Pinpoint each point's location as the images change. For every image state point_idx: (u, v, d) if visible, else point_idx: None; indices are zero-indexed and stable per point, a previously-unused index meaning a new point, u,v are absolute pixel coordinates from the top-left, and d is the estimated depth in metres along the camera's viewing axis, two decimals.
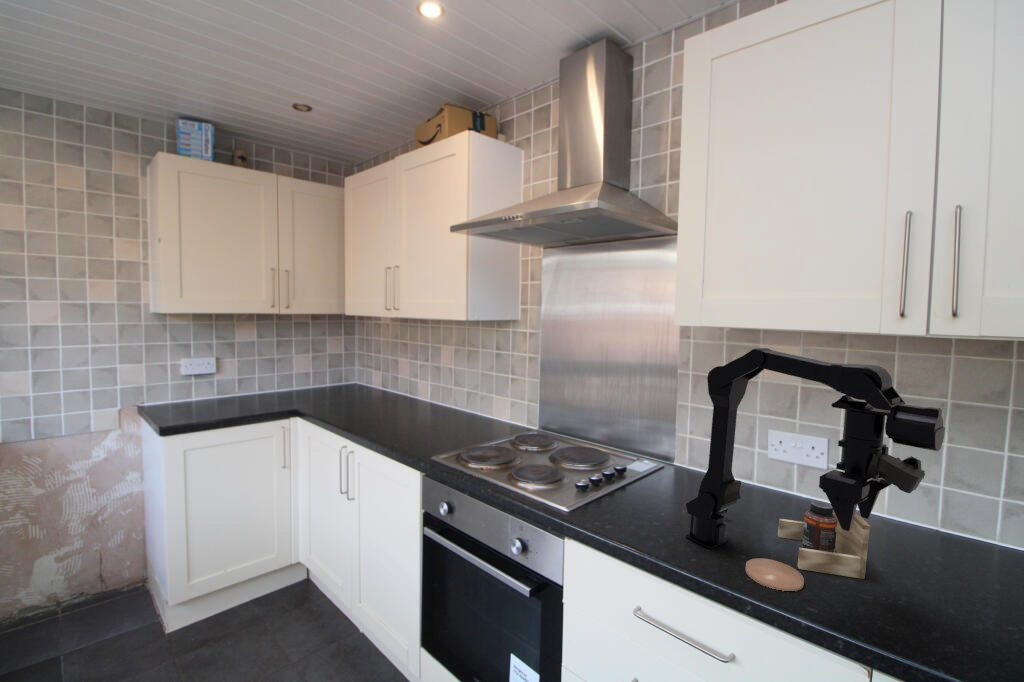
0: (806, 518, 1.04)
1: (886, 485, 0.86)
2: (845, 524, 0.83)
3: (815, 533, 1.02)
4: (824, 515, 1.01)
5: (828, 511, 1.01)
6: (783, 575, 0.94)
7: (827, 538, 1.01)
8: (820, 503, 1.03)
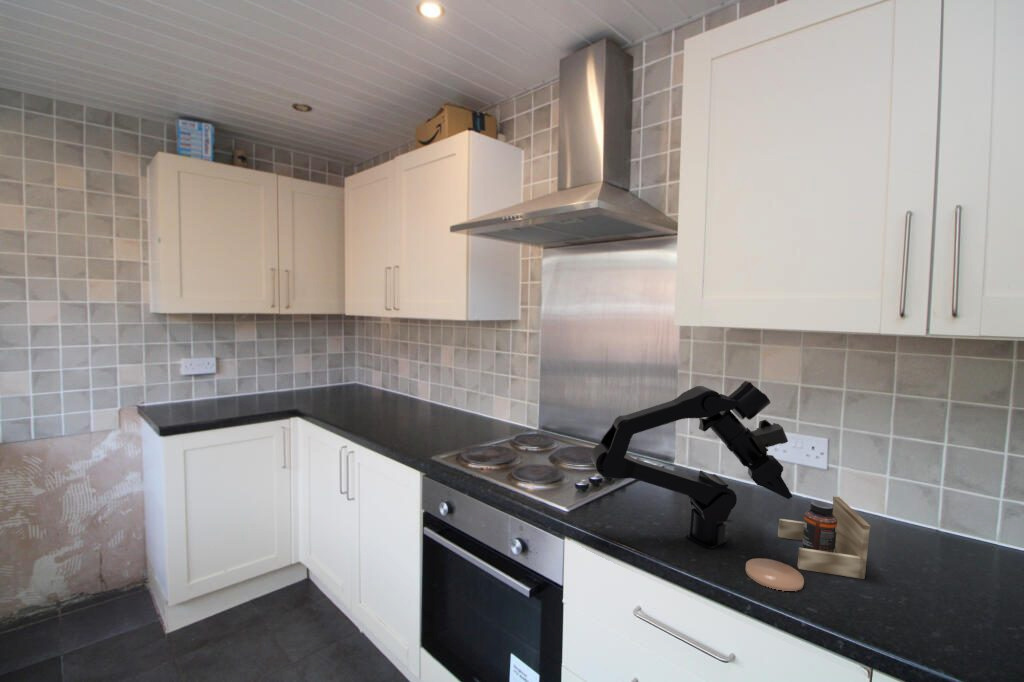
0: (806, 518, 1.04)
1: None
2: (787, 494, 1.00)
3: (815, 533, 1.02)
4: (824, 515, 1.01)
5: (828, 511, 1.01)
6: (783, 575, 0.94)
7: (827, 538, 1.01)
8: (820, 503, 1.03)
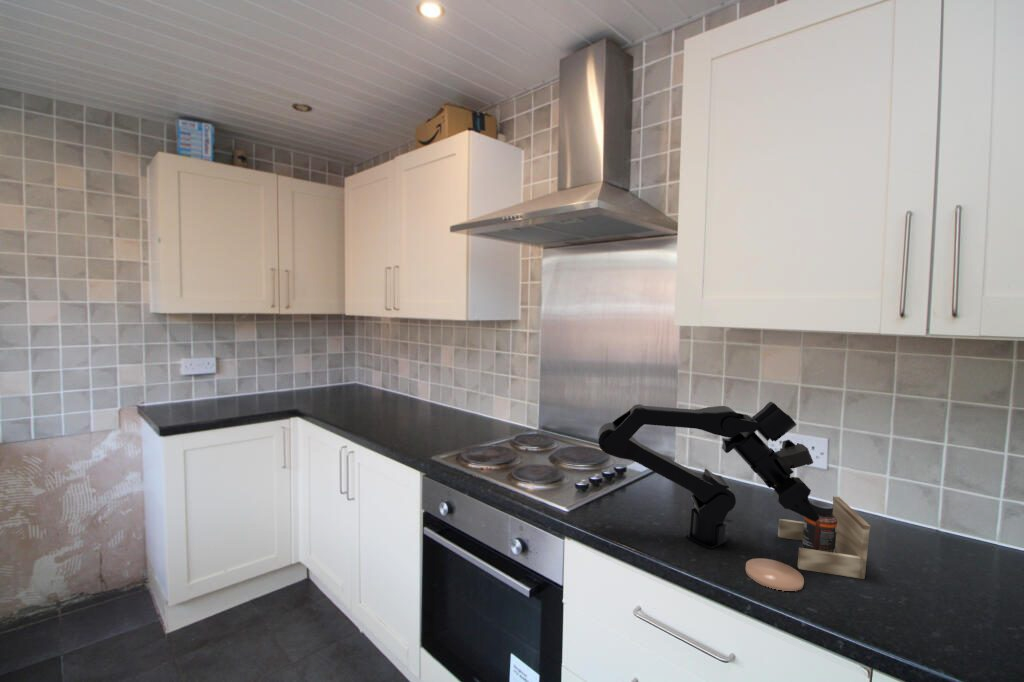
0: (806, 518, 1.04)
1: None
2: (813, 516, 0.99)
3: (815, 533, 1.02)
4: (824, 515, 1.01)
5: (828, 511, 1.01)
6: (783, 575, 0.94)
7: (827, 538, 1.01)
8: (820, 503, 1.03)
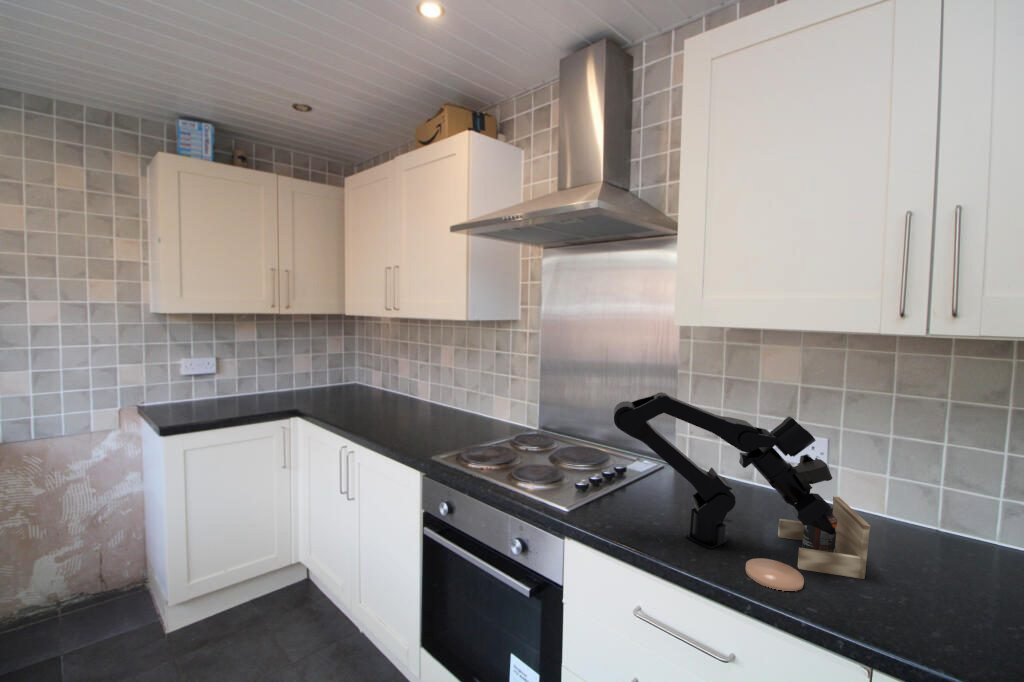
0: None
1: None
2: (830, 529, 1.00)
3: (815, 533, 1.02)
4: None
5: (828, 511, 1.01)
6: (783, 575, 0.94)
7: (827, 538, 1.01)
8: None
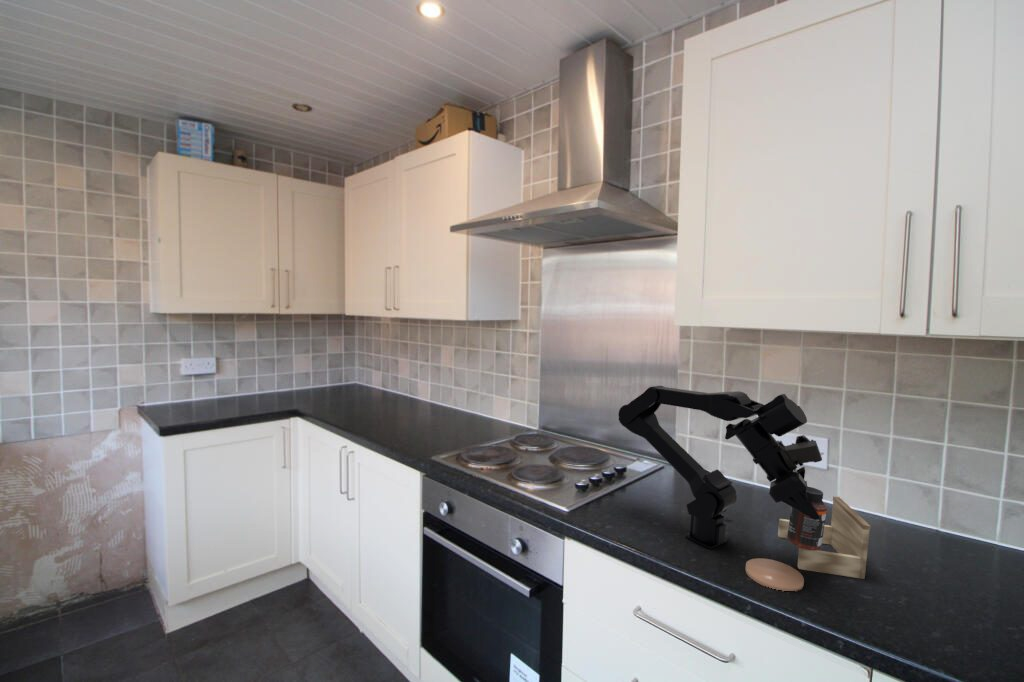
0: None
1: (803, 471, 1.00)
2: (813, 514, 0.93)
3: (798, 519, 0.95)
4: None
5: (815, 497, 0.94)
6: (783, 575, 0.94)
7: (811, 525, 0.94)
8: (810, 489, 0.96)
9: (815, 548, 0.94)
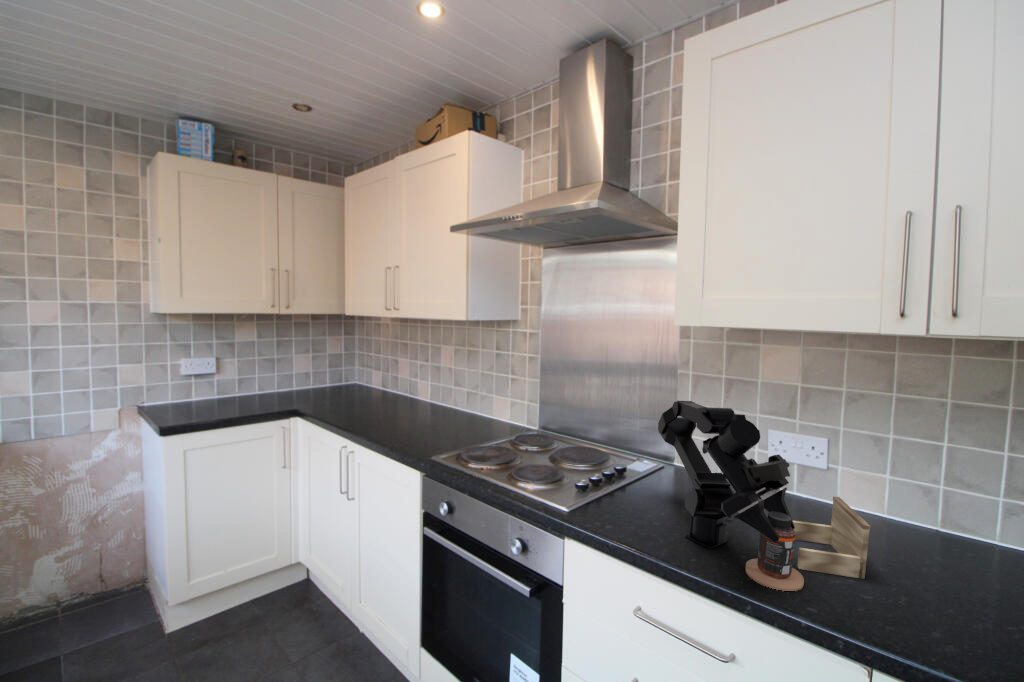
0: None
1: (780, 491, 0.98)
2: (772, 535, 0.91)
3: (763, 543, 0.94)
4: (774, 526, 0.93)
5: (779, 522, 0.92)
6: None
7: (773, 551, 0.92)
8: (778, 515, 0.94)
9: (779, 576, 0.92)
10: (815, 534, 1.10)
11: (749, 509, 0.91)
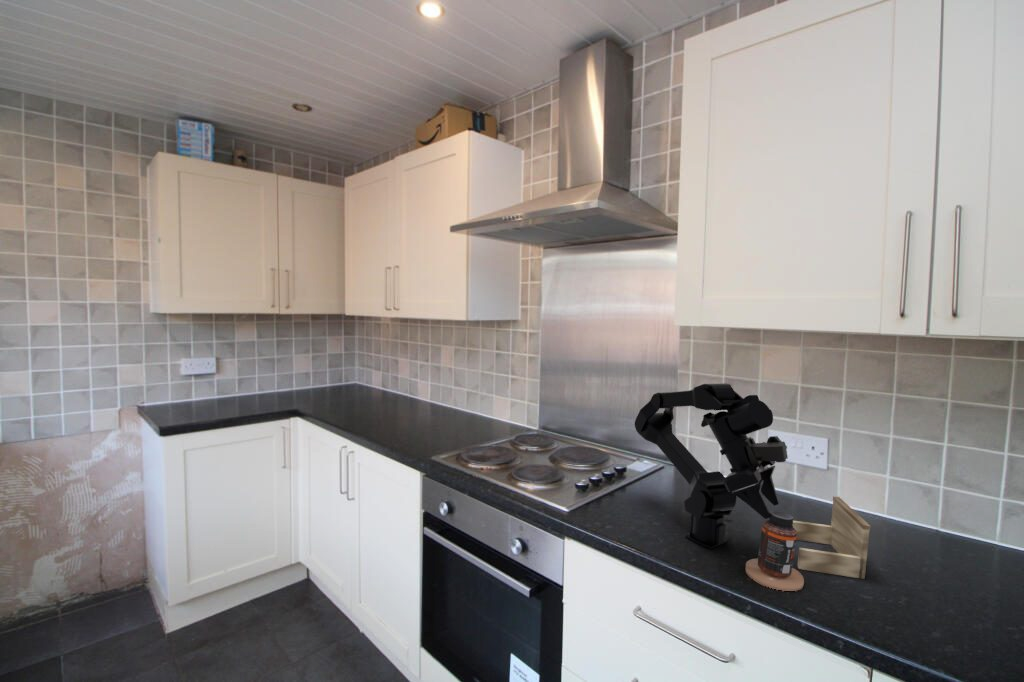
0: None
1: (771, 469, 1.03)
2: (764, 512, 0.95)
3: (764, 542, 0.94)
4: (776, 525, 0.93)
5: (781, 521, 0.92)
6: None
7: (774, 549, 0.92)
8: (780, 514, 0.94)
9: (779, 574, 0.92)
10: (815, 534, 1.10)
11: (750, 487, 0.93)
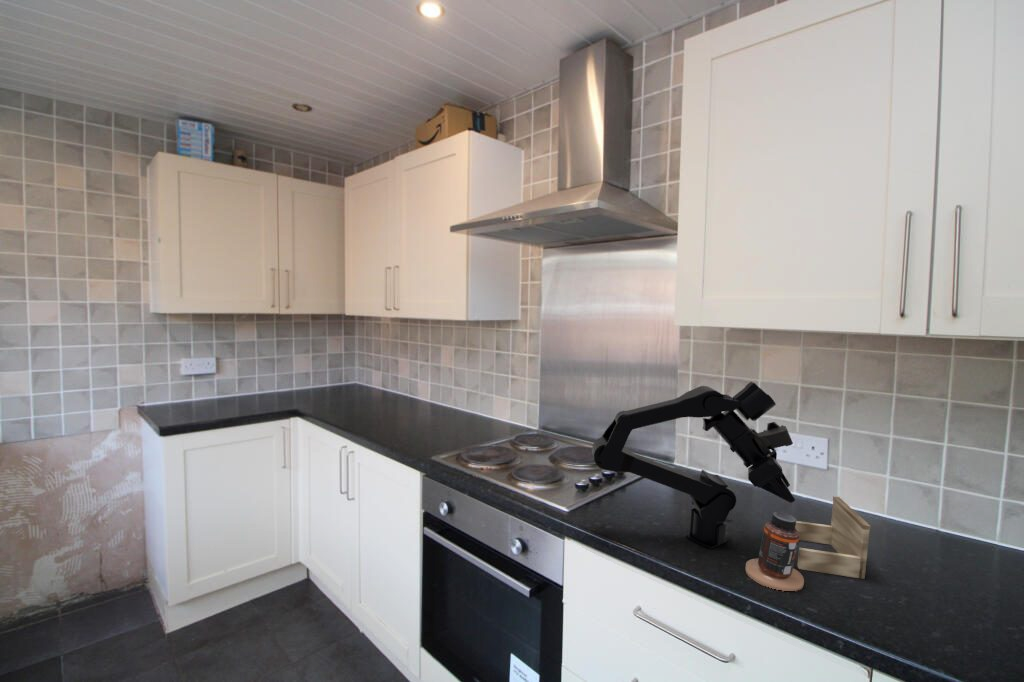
0: None
1: (775, 454, 1.08)
2: (789, 497, 0.98)
3: (766, 543, 0.93)
4: (779, 527, 0.92)
5: (784, 523, 0.92)
6: None
7: (776, 551, 0.92)
8: (783, 515, 0.94)
9: (780, 575, 0.92)
10: (815, 534, 1.10)
11: (774, 476, 0.96)
